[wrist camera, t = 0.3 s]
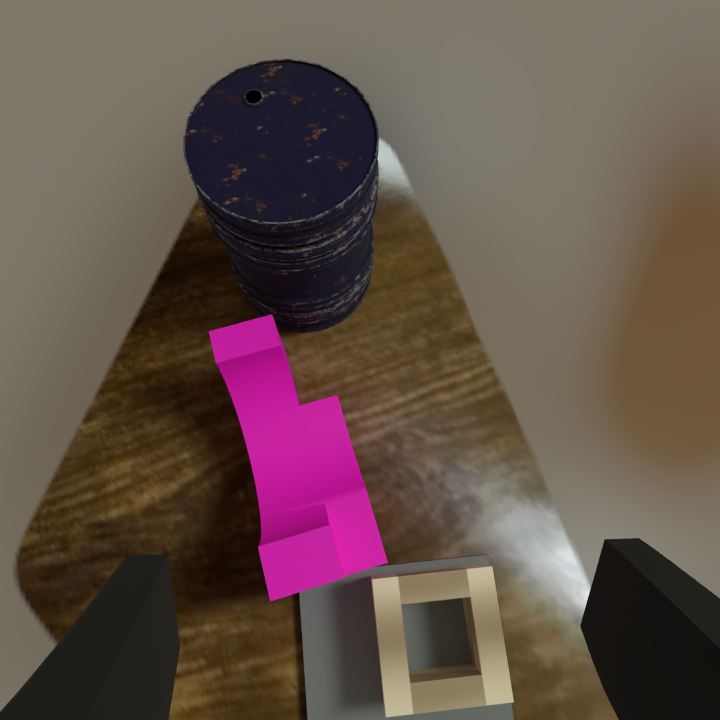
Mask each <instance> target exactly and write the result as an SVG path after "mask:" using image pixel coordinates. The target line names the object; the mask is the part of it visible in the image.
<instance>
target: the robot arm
mask: <svg viewBox="0 0 720 720" xmlns="http://www.w3.org/2000/svg"><path fill="white" fill-rule="evenodd" d="M581 629H582V632H583V635H584V638H585V641H586V643H587V646H588V649H589V652H590V655H591V657H592V660H593V663H594V665H595V668H596V670H597V673H598V676H599V678H600V681H601V683H602V686H603V688H604V690H605V693H606V695H607V697H608V699H609V701H610V703H611V705H612V707H613V709H614V711H615V713H616V715H617V717H618V719H619V720H720V598H718V597H717V596H716V595H714V594H713V593H712V592H710V591H709V590H708V589H707V588H705V587H704V586H703V585H701V584H700V583H699V582H697V581H696V580H695V579H693V578H692V577H691V576H689V575H688V574H687V573H685V572H684V571H683V570H681V569H680V568H679V567H678V566H676V565H675V564H674V563H672V562H671V561H670V560H668V559H667V558H666V557H664V556H663V555H662V554H660V553H659V552H658V551H656V550H655V549H653V548H652V547H650V546H649V545H648V544H646V543H645V542H643V541H642V540H641V539H639V538H633V539H607V540H606V539H605V540H604V544H603V548H602V551H601V555H600V558H599V562H598V565H597V569H596V572H595V576H594V579H593V583H592V586H591V590H590V594H589V597H588V601H587V604H586V608H585V611H584V615H583V618H582V622H581ZM179 649H180V643H179V635H178V628H177V620H176V612H175V605H174V597H173V589H172V582H171V574H170V566H169V559H168V555H141V556H127V557H126V558H125V559H124V560H123V561H122V562H121V563H120V564H119V566H118V567H117V568H116V570H115V571H114V573H113V574H112V575H111V577H110V578H109V579H108V581H107V582H106V583H105V585H104V586H103V587H102V589H101V590H100V591H99V592H98V594H97V595H96V596H95V598H94V599H93V600H92V602H91V603H90V604H89V606H88V607H87V608H86V609H85V611H84V612H83V613H82V615H81V616H80V617H79V618H78V620H77V621H76V622H75V623H74V625H73V626H72V627H71V628H70V630H69V631H68V632H67V634H66V635H65V636H64V637H63V638H62V640H61V641H60V642H59V643H58V645H57V646H56V647H55V648H54V649H53V651H52V652H51V653H50V654H49V655H48V657H47V658H46V659H45V660H44V662H43V663H42V664H41V665H40V666H39V667H38V669H37V670H36V671H35V672H34V674H33V675H32V676H31V677H30V678H29V680H28V681H27V682H26V683H25V684H24V686H23V687H22V688H21V689H20V690H19V691H18V693H17V694H16V695H15V696H14V697H13V698H12V699H11V700H10V702H9V703H8V704H7V705H6V706H5V707H4V708H3V709H2V710H1V712H0V720H168V717H169V712H170V706H171V700H172V694H173V688H174V682H175V675H176V668H177V662H178V655H179Z"/></svg>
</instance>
